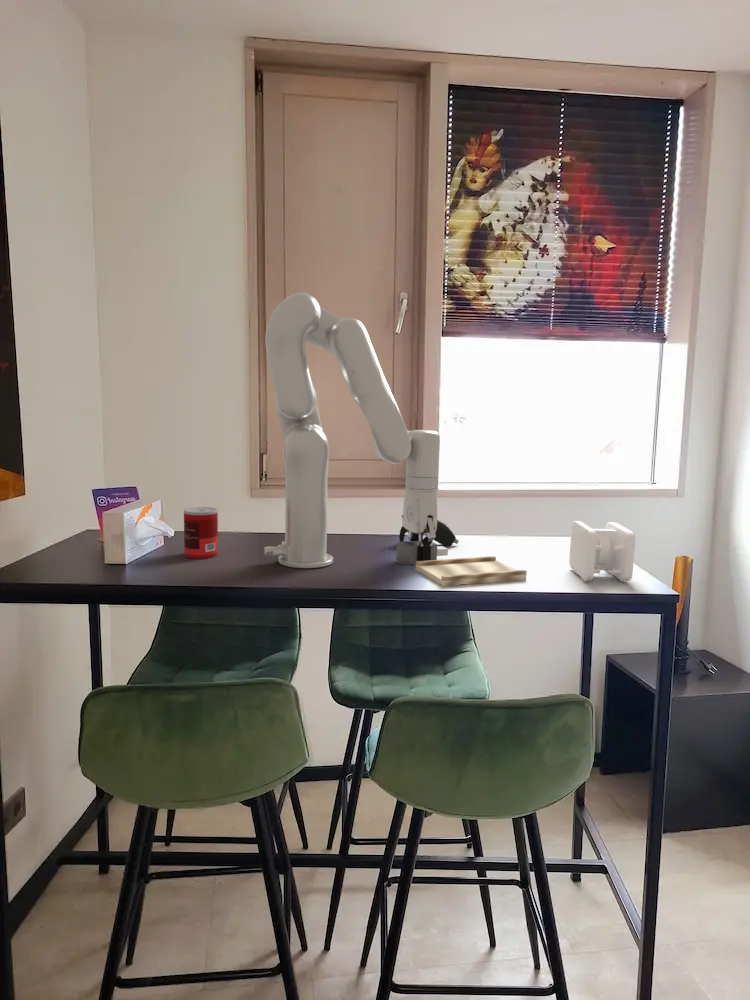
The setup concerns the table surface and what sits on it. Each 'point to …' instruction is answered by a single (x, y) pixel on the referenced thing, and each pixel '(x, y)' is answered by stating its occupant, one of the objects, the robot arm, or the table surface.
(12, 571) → the table surface
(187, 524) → the canned food
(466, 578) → the board
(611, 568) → the cable organizer
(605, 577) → the table surface
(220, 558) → the table surface
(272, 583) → the table surface
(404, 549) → the connector
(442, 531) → the gun
